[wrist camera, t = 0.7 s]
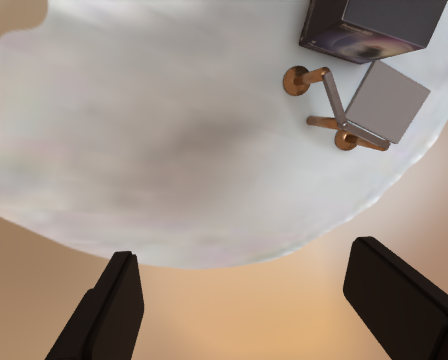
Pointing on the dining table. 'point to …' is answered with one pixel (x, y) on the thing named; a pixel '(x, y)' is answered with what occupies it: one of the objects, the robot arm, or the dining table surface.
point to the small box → (370, 27)
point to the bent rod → (347, 133)
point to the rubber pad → (386, 102)
